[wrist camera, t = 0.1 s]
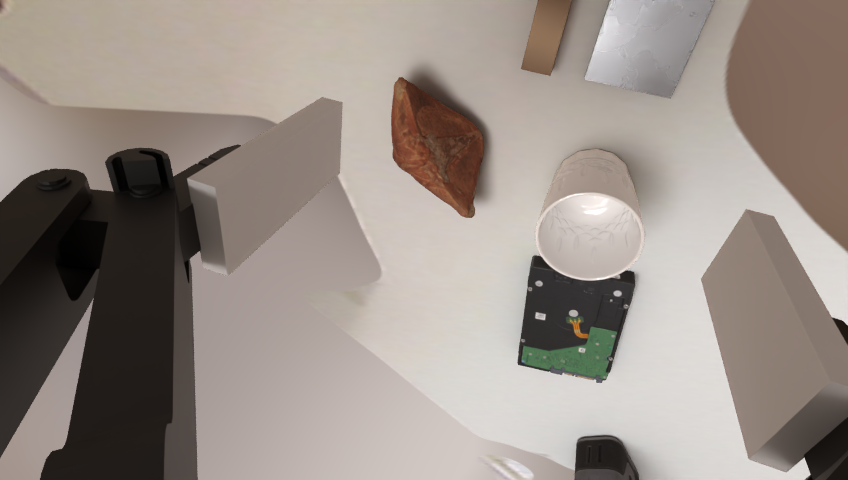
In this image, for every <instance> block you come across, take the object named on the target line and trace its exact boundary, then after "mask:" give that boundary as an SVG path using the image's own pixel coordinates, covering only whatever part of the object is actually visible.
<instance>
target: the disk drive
mask: <svg viewBox="0 0 848 480" xmlns="http://www.w3.org/2000/svg"><path fill="white" fill-rule="evenodd" d="M634 287H635V277H634V272H632V271H624V272H622V273H620V274H618V275H616V276H614V277H611V278H607V279H603V280H594V281H588V280H579V279H574V278H571V277H568V276H565V275H563V274H561V273H559V272H557V271H556V270H554V269H553V268H552V267H550V266H549V265H548V264H547V263H546V262H545V261H544V259H543V258H542V257H541V256H533V257H532V262H531V267H530V273H529V277H528V289H527V296H526V304H525V311H524V318H523V326H522V333H521V339H520V345H519V352H518V353H519V356H518V365H521V366H525V367H530V368H534V369H539V370H543V371H548V372H549V371H550V372H551V373H555V374H560V375H562V373H563V372H564V373H565V374H567V375H572V376H574V375H576V377H581V378H586V379H590V380H594V379H595V380H596V382H597V383H602V381H603V380H606V379H607V376H608V373H610V370H611V367H612V362H613V359H614V356H615V352H616V349H617V346H618V342H619V339H620V335H621V331H622V329H623V325H624V322H625V318H626V315H627V312H628V308H629V306H630V303H631V300H632V296H633V291H634Z"/></svg>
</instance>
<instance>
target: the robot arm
mask: <svg viewBox="0 0 848 480" xmlns="http://www.w3.org/2000/svg"><path fill="white" fill-rule="evenodd" d="M341 128H342V102H339V101H335V100H331V99H327V98H324V97H322V98H320V99H319V100H317V101H315V102H314V103H312V104H310V105H309V106H307V107H305V108H304V109H302V110H300V111H299V112H297V113H295V114H294V115H292V116H290V117H289V118H287V119H285V120H284V121H282V122H280V123H279V124H277V125H275V126H274V127H272V128H270V129H269V130H267V131H265V132H264V133H262V134H260V135H259V136H257V137H255V138H254V139H252V140H250V141H249V142H247V143H245V144H244V145H242V146H241V145H234V146H231V147H227V148H224V149H220V150H219V151H217V152H216V153H214V154H212V155H210V156H209V157H208V158H205V159H203V160H201V161H200V162H199V163H198V164H195V165H193V166H191V167H189V168H188V169H186V170H184V171H183V172H181V173H179V174H177V175H175V176H174V177H173V174H172V169H171V164H170V159H169V157H168V154H166V153H164V152H163V151H160V150H156V149H152V148H135V149H127V150H124V151H120V152H117V153H115V154H113V155H111V156H110V157H108V159H107V160H106V162H105V163H106V167H107V170H108V173H109V177H110V181H111V184H112V187H113V191H114V192H111V191H102V190H92V189H90V187H89V184H88V181H87V178H86V176H85V175H84V174H83V173H81V172H79V171H77V170H70V169H50V170H44V171H41V172H39V173H36V174H34V175H31V176H29V177H28V178H26V179H25V180H23V181H22V182H21V183H20V184H19V185H18V186H17V187H16V188H15V189H13V190H12V191H11V192H10V193H9V194H8V195H7V196H6V197H5V198H4V199H3V200H2V201H1V202H0V457H1V455H2V454H3V452H4V450H5V449H6V447H7V445H8V444H9V442H10V440H11V438H12V437H13V435H14V433H15V432H16V430H17V428H18V426H19V425H20V423H21V421H22V420H23V418H24V416H25V414H26V413H27V411H28V409H29V408H30V406H31V404H32V402H33V401H34V399H35V397H36V396H37V394H38V392H39V390H40V389H41V387H42V385H43V384H44V382H45V380H46V378H47V377H48V375H49V373H50V371H51V370H52V368H53V366H54V365H55V363H56V361H57V360H58V358H59V356H60V354H61V353H62V351H63V349H64V348H65V346H66V344H67V343H68V341H69V339H70V337H71V336H72V334H73V332H74V331H75V329H76V327H77V325H78V324H79V322H80V320H81V319H82V317H83V315H84V313H85V312H86V310H87V308H88V307H89V305H90V303H91V301H92V299H93V298H94V300H93V305H92V311H91V316H90V321H89V326H88V332H87V337H86V342H85V347H84V352H83V358H82V363H81V369H80V373H79V379H78V384H77V389H76V394H75V400H74V405H73V410H72V415H71V420H70V425H69V431H68V436H67V440H66V443H65V445H64V447H63V448H62V449H59V450H56V451H52V452H51V453H50V455H49V456H48V457H47V459H46V461H45V464H44V467H43V470H42V473H41V478H40V480H198V477H197V442H196V408H195V376H194V375H195V374H194V373H195V372H194V337H193V303H192V269H191V264H190V258H191V257H192V256H194V255H195V254H196V253H197V252H199V251H200V253H201V259H202V264H203V268H205V269H208V270H211V271H214V272H217V273H220V274H222V275H225V276H229V275H230V274H231V273H232V272H233V271H234V270H235V269H236V268H237V267H238V266H240V265H241V264H242V263H243V262H244V261H245V260H246V259H247V258H248V257H249V256H250V255H251V254H252V253H254V251H256V250H257V249H258V248H259V247H260V246H261V245H262V244H263V243H265V242H266V241H267V240H268V239H269V238H270V237H271V236H272V235H273V234H274V233H275V232H276V231H277V230H279V229H280V228H281V227H282V226H283V225H284V224H285V223H286V222H287V221H288V220H289V219H291V218H292V217H293V216H294V215H295V214H296V213H297V212H298V211H299V210H300V209H301V208H302V207H303V206H304V205H306V204H307V203H308V202H309V201H310V200H311V199H312V198H313V197H314V196H315V195H316V194H318V193H319V192H320V191H321V190H322V189H323V188H324V187H325V186H326V185H327V184H328V183H329V182H331V181H332V180H333V179H334V178H335V177H336V176H337V175H338V174H339V173H340V155H341ZM701 281H702V284H703V288H704V292H705V296H706V299H707V303H708V307H709V311H710V315H711V318H712V322H713V326H714V330H715V333H716V337H717V341H718V345H719V349H720V352H721V356H722V360H723V364H724V367H725V371H726V375H727V379H728V383H729V386H730V390H731V394H732V398H733V401H734V405H735V409H736V413H737V417H738V420H739V424H740V428H741V432H742V435H743V439H744V443H745V447H746V451H747V454H748V458H749V459H750V460H752V461H755V462H758V463H761V464H764V465H767V466H770V467H772V468H775V469H778V470H781V471H784V472H787V471H789V470H790V469H791V468H792V467H793V466H794V465H796V464H797V463H798V462H799V461H800V460H802V459H803V458H804V457H805V460H806V463H807V465H808V468H809V471H810V473H811V475H810V476H809V477H807V478H806V479H805V480H848V325H846V324H845V323H844V322H843V321H842V320H839V319H835V318H832V317H831V315H830V314H829V312H828V310H827V308H826V307H825V305H824V303H823V301H822V300H821V298H820V296H819V294H818V293H817V291H816V289H815V287H814V286H813V284H812V282H811V280H810V279H809V277H808V275H807V273H806V272H805V270H804V268H803V266H802V265H801V263H800V261H799V259H798V258H797V256H796V254H795V252H794V251H793V249H792V247H791V245H790V244H789V242H788V240H787V238H786V237H785V235H784V233H783V231H782V230H781V228H780V226H779V224H778V223H777V221H776V219H775V217H774V216H770V215H766V214H763V213H759V212H755V211H751V210H747V209H746V210H745V212H744V214H743V215H742V217H741V218H740V220H739V221H738V223H737V224H736V226H735V227H734V229H733V230H732V232H731V234H730V235H729V237H728V238H727V240H726V241H725V243H724V244H723V246H722V247H721V249H720V250H719V252H718V254H717V255H716V257H715V258H714V260H713V261H712V263H711V264H710V266H709V267H708V269H707V271H706V272H705V274H704V275H703V277H702V278H701Z"/></svg>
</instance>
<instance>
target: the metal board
mask: <svg viewBox="0 0 848 480" xmlns="http://www.w3.org/2000/svg"><path fill="white" fill-rule="evenodd" d="M714 1H715V0H610V2H609V5H608V8H607V11H606V14H605V17H604V20H603V23H602V26H601V29H600V32H599V35H598V38H597V41H596V44H595V47H594V50H593V53H592V56H591V59H590V62H589V65H588V68H587V71H586V74H585V78H584V79H585V80H589V81H594V82H598V83H603V84H607V85H612V86H616V87H621V88H625V89H630V90H634V91H639V92H643V93H648V94H652V95H657V96H661V97H666V98H670V99H671V96H672V94H673V92H674V90H675V87H676V85H677V83H678V81H679V78H680V76H681V74H682V72H683V70H684V67H685V65H686V63H687V61H688V58H689V56H690V54H691V52H692V50H693V47H694V45H695V43H696V41H697V38H698V36H699V34H700V32H701V30H702V27H703V25H704V23H705V21H706V18H707V16H708V14H709V12H710V9H711V7H712V5H713V3H714Z"/></svg>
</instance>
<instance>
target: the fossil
mask: <svg viewBox="0 0 848 480" xmlns="http://www.w3.org/2000/svg"><path fill="white" fill-rule="evenodd" d="M391 126H392V143H393V159H394V161H395V162H396V163H397V165H398V166H399V167H400V168H401V169H402V170H404V171H406V172H407V173H409V174H411V176H413V177H414V179H415V180H416V181H418V182H419V183H420V184H421V185H423V186H424V187H425V188H426V189H428V190H429V191H430V192H432V193H433V194H434V195H436V196H437V197H438V198H440V199H441V200H443V201H444V202H446V203H447V204H449V205H450V206H452V207H453V208H454V209H455V210H456V211H457V212H458V213H459V214H460V215H461V216H463V217H466V218H472V217H473V216H474V214H475V207H474V205H473V200H474V196H475V191H476V186H477V180H478V176H479V170H480V164H481V161H482V157H483V152H484V146H483V137H482V134H481V132H480V131H479V129H478V128H477V127H476V126H475V125H474V124H473V123H472V122H471V121H469V120H468V119H467V118H465V117H464V116H462V115H461V114H459V113H457V112H455V111H453V110H451V109H449V108H447V107H446V106H444V105H443V104H441V103H440V102H439V101H437V100H436V99H435V98H433V97H432V96H430V95H429V94H427V93H425V92H424V91H422V90H421V89H419V88H418V87H416V86H415V85H413V84H411V83H410V82H408V81H407V80H405V79H404V78H403V77H400V78H399V79H398V80H397V82H395V85H394V95H393V104H392V115H391Z"/></svg>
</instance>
